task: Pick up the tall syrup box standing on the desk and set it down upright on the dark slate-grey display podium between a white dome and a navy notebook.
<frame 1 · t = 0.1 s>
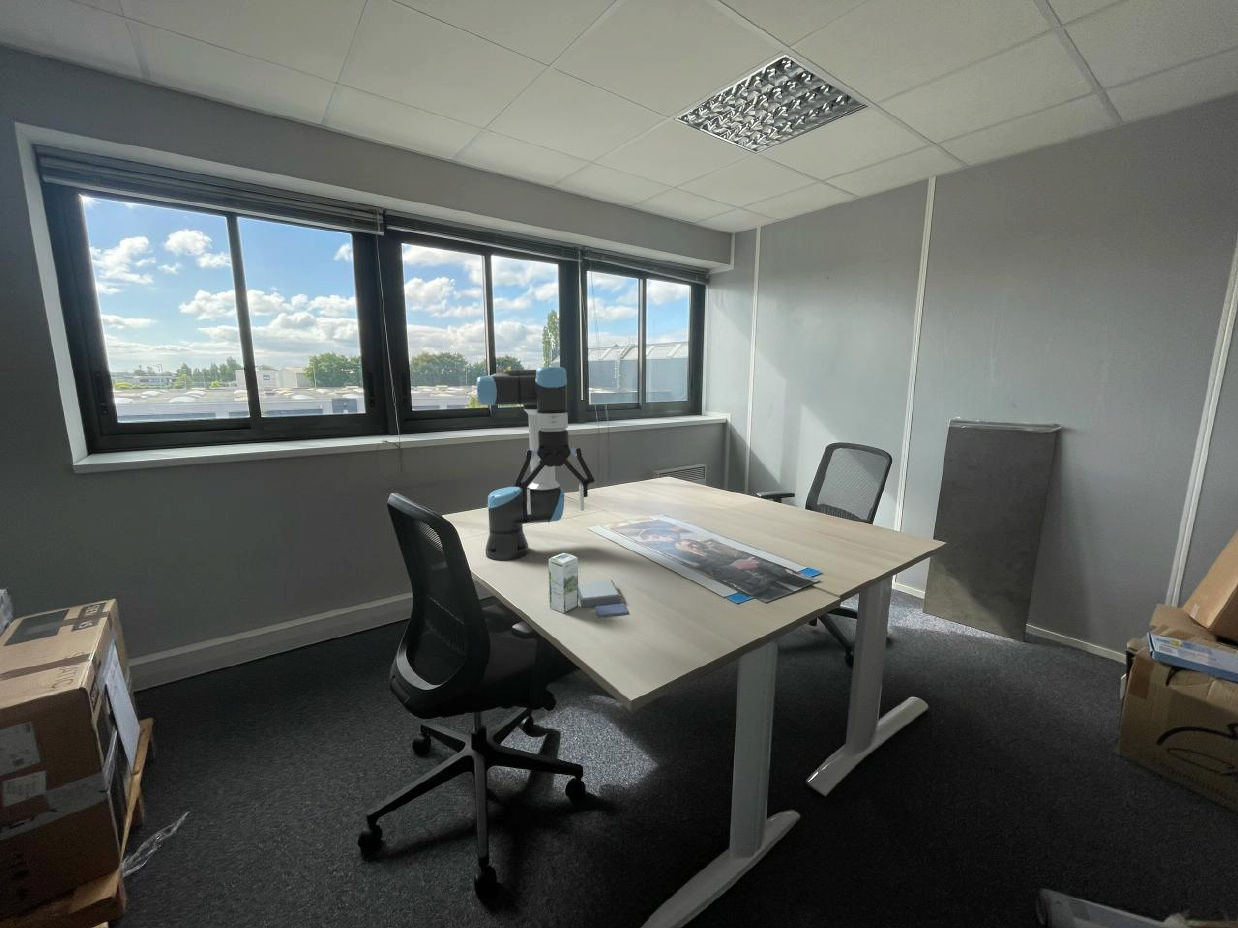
hand: (555, 511, 126), 28 cm above the table, fingers open, 13 cm apart
syrup box: (564, 607, 133), on the table
navy notebook: (611, 613, 130), on the table
white dome: (557, 594, 141), on the table
podium: (597, 596, 139), on the table
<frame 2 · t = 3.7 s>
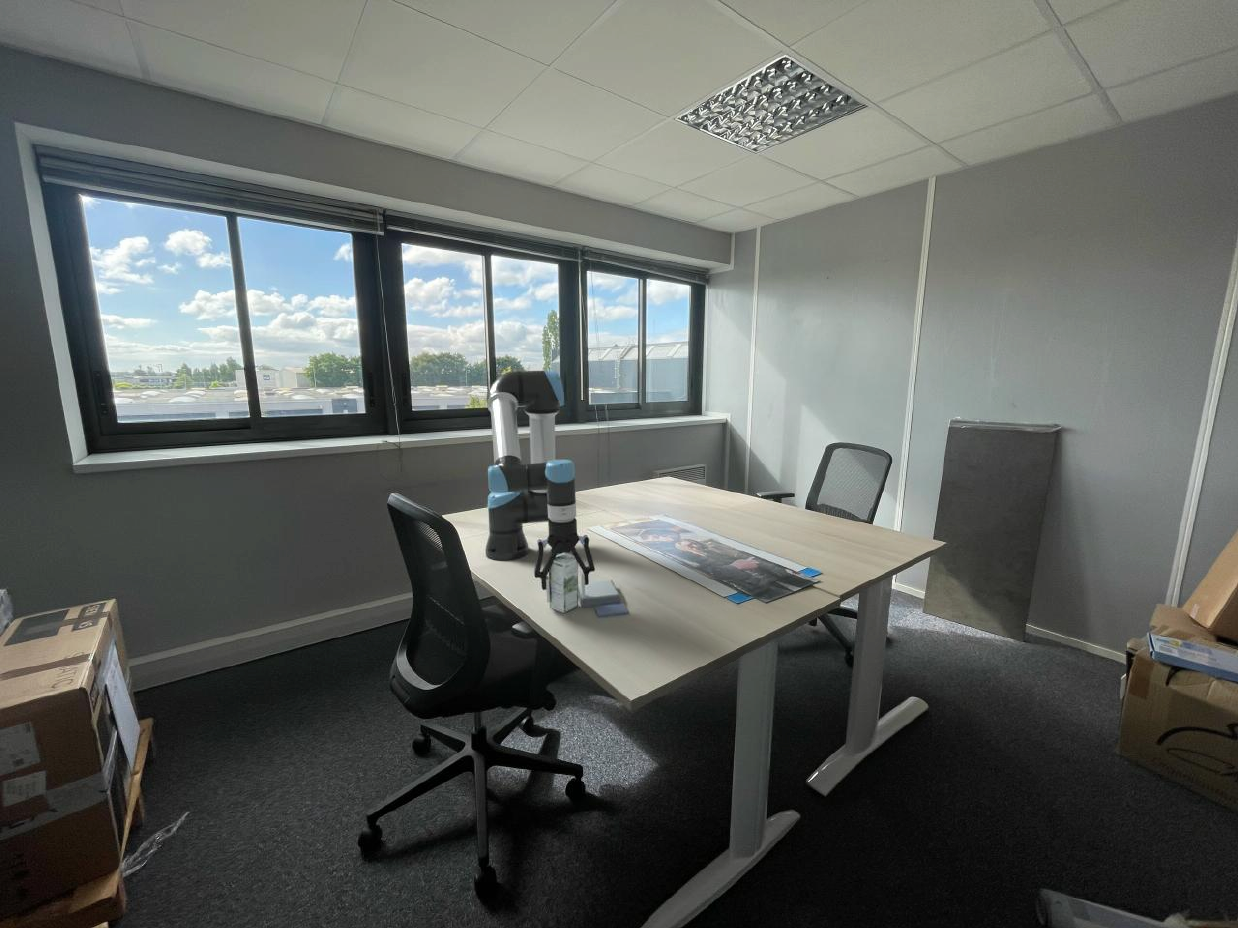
hand: (565, 597, 133), 3 cm above the table, fingers open, 9 cm apart
nothing on the table moved.
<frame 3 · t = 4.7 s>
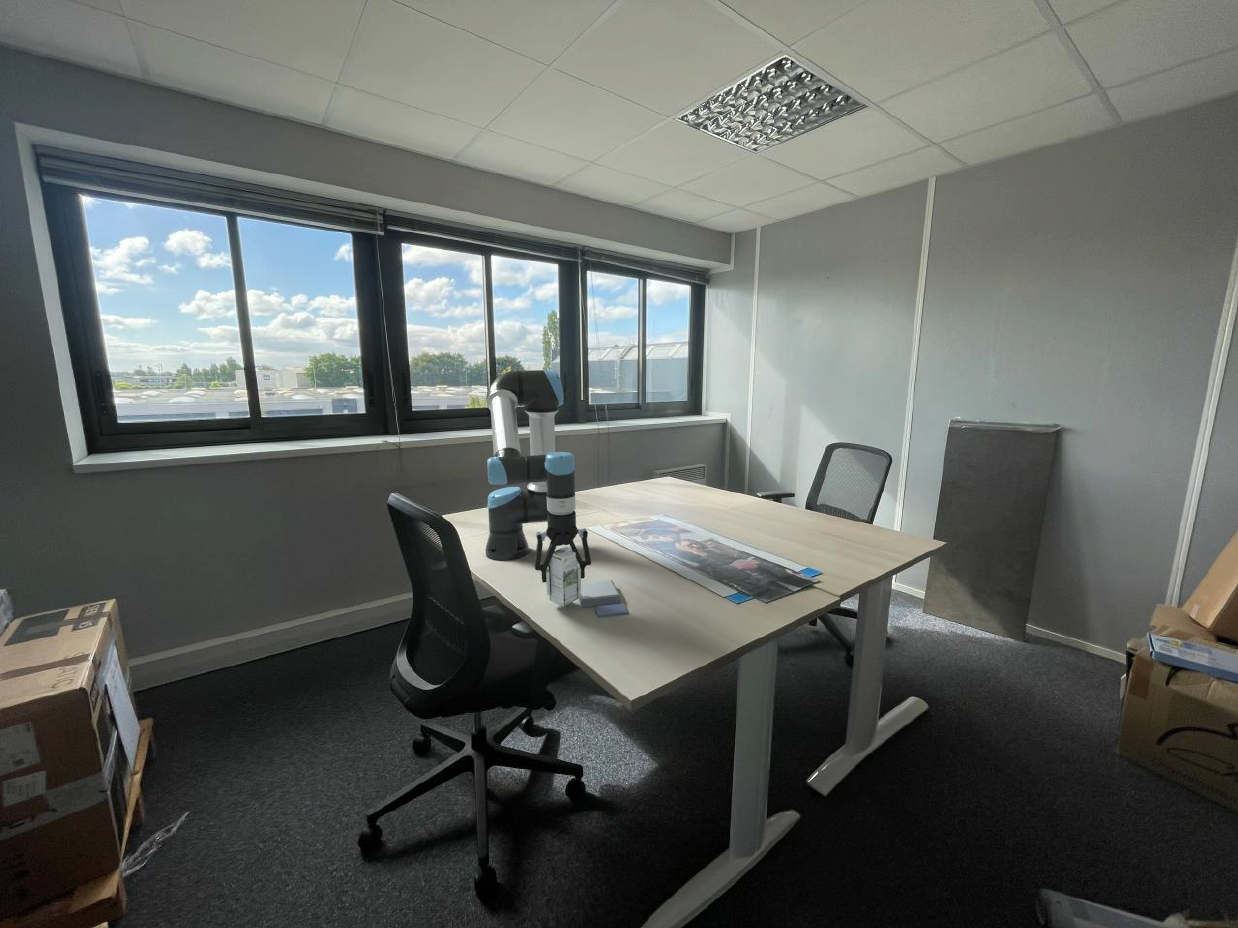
hand: (563, 590, 133), 5 cm above the table, fingers closed on syrup box, 8 cm apart
syrup box: (564, 600, 133), point 2 cm above the table, touching gripper
everything else where it was.
when the fingers open (6 cm above the table, at t = 8.5 s): syrup box stays where it is, resting on podium.
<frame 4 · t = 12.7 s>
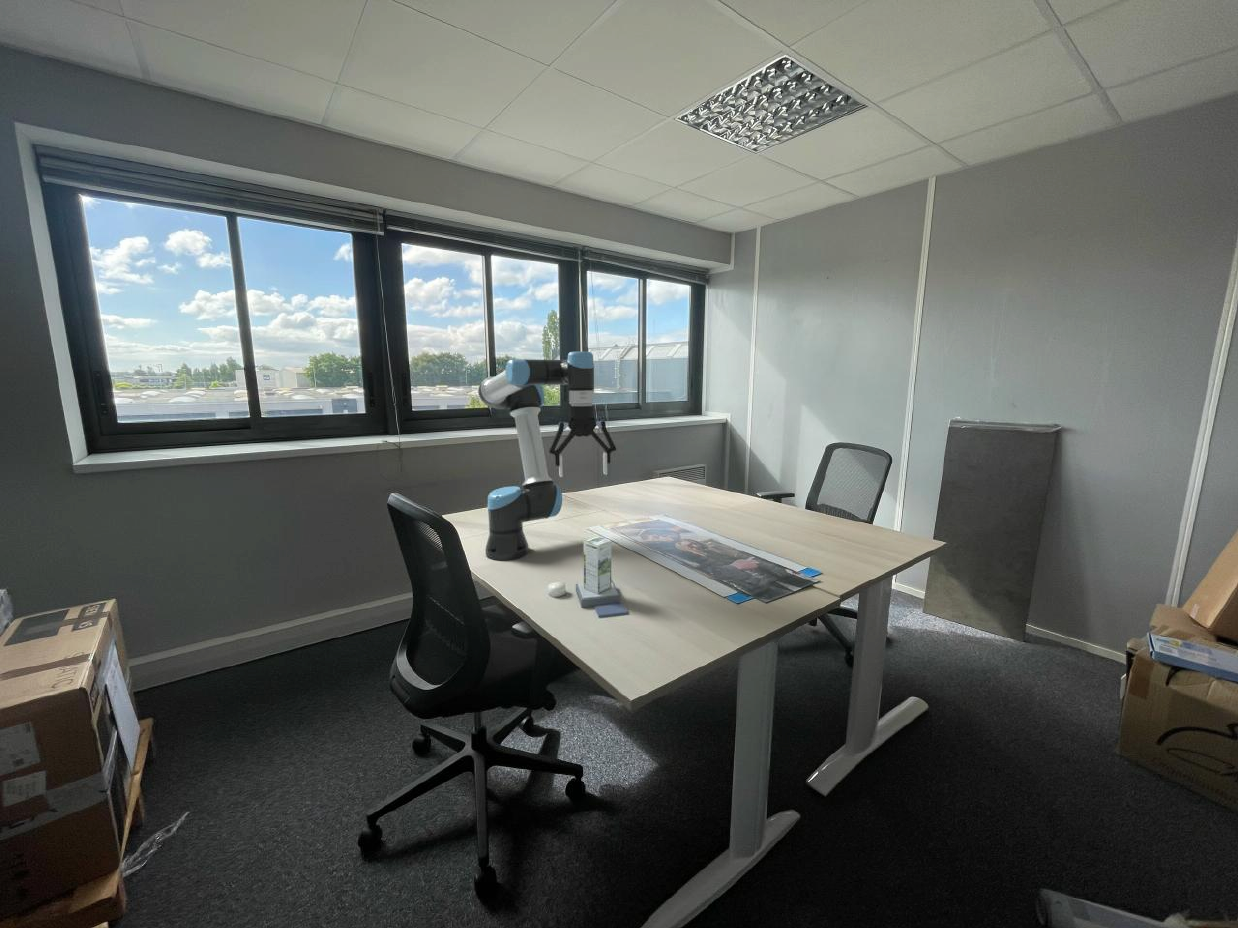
hand: (583, 475, 147), 33 cm above the table, fingers open, 13 cm apart
syrup box: (598, 589, 139), point 2 cm above the table, touching podium
everything else where it was.
at the end: syrup box inside the target area on the podium (0.2 cm from its centre), point 2.3 cm above the podium's base; syrup box tilted 0°; the gripper is holding nothing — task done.
